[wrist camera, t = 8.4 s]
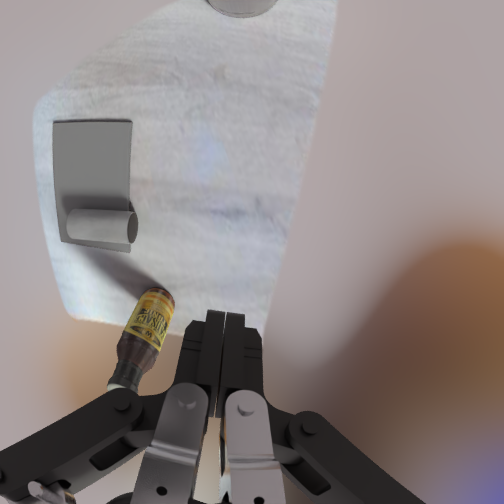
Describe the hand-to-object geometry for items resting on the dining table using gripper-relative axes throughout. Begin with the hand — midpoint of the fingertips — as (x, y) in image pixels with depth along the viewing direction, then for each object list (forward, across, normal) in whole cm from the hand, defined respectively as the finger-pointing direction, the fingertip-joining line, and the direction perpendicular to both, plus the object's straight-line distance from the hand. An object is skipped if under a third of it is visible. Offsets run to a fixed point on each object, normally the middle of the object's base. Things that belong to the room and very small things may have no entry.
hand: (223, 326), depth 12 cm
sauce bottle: (+29, +11, +25) cm, 40 cm away
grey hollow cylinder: (+26, +14, +10) cm, 31 cm away
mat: (+29, +22, +6) cm, 37 cm away
